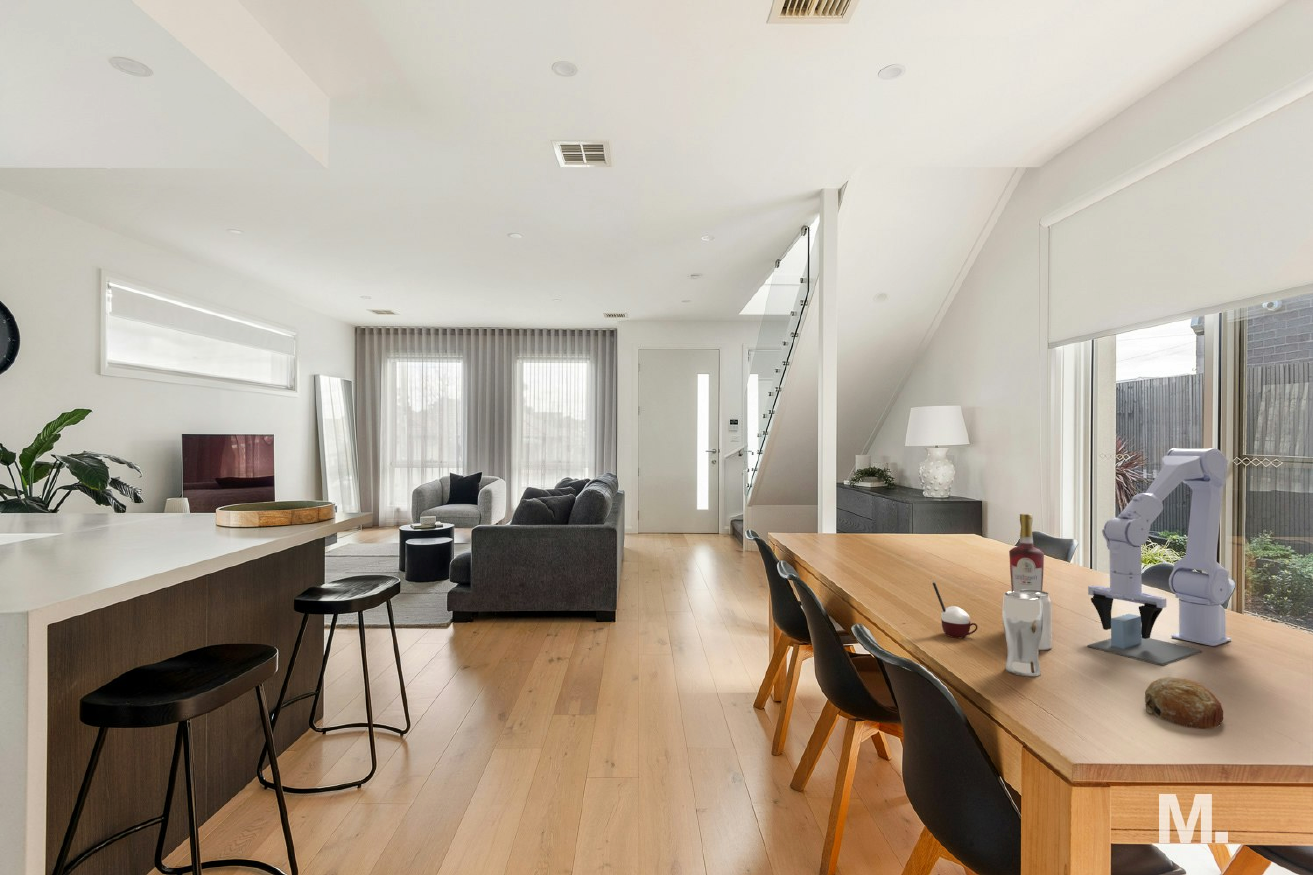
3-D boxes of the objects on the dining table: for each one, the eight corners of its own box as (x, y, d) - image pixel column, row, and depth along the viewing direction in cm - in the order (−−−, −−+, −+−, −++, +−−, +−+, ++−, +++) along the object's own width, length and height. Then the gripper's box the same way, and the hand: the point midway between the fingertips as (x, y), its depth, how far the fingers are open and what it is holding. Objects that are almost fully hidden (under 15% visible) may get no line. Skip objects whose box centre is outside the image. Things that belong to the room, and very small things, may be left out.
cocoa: (979, 638, 148) (982, 587, 148) (967, 643, 144) (970, 590, 144) (939, 628, 155) (941, 579, 155) (927, 632, 151) (929, 581, 151)
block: (1128, 640, 144) (1128, 613, 144) (1141, 643, 142) (1141, 616, 142) (1110, 645, 140) (1110, 618, 140) (1123, 648, 138) (1123, 620, 138)
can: (1056, 651, 137) (1056, 596, 137) (1023, 649, 138) (1023, 594, 139) (1044, 642, 143) (1044, 589, 144) (1013, 640, 145) (1012, 588, 145)
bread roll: (1139, 725, 109) (1120, 684, 109) (1189, 698, 110) (1170, 657, 110) (1193, 753, 99) (1172, 707, 99) (1247, 723, 100) (1226, 677, 100)
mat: (1128, 634, 150) (1128, 633, 150) (1201, 651, 137) (1201, 649, 137) (1087, 646, 141) (1087, 644, 141) (1162, 665, 128) (1162, 663, 129)
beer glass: (1038, 667, 127) (1038, 592, 127) (1047, 679, 121) (1047, 600, 121) (999, 663, 130) (999, 590, 130) (1006, 675, 123) (1006, 597, 123)
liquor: (1045, 628, 154) (1044, 513, 155) (1044, 636, 148) (1043, 516, 149) (1010, 624, 158) (1009, 512, 159) (1008, 631, 152) (1007, 514, 153)
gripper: (1080, 568, 146) (1081, 627, 146) (1155, 580, 133) (1155, 644, 133) (1096, 565, 149) (1097, 623, 149) (1170, 576, 137) (1171, 639, 136)
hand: (1126, 633), depth 141 cm, fingers open, 7 cm apart
